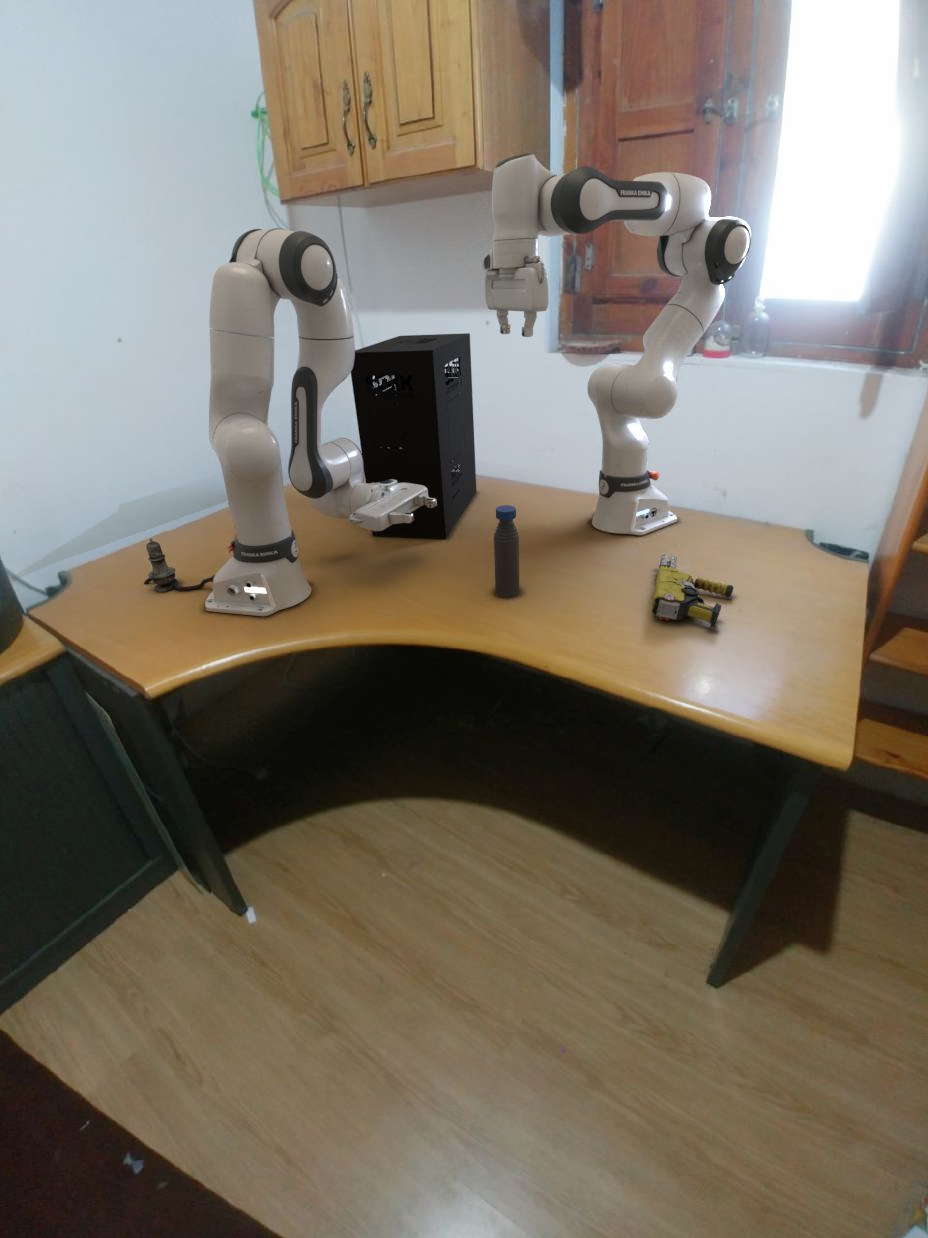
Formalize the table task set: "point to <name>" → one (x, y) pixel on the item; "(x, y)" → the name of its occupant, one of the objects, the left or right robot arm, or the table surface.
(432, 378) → the black boxy piece
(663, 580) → the toy gun
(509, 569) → the bottle
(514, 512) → the cap
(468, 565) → the table surface
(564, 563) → the table surface
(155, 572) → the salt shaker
